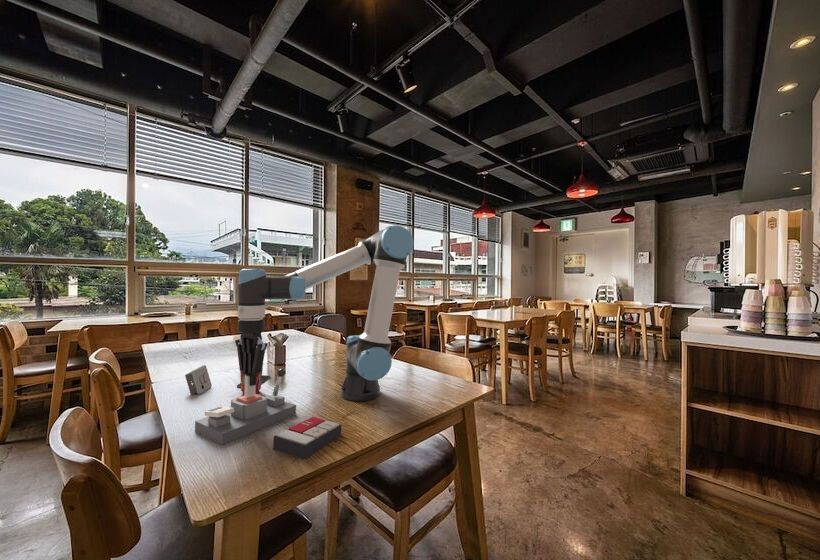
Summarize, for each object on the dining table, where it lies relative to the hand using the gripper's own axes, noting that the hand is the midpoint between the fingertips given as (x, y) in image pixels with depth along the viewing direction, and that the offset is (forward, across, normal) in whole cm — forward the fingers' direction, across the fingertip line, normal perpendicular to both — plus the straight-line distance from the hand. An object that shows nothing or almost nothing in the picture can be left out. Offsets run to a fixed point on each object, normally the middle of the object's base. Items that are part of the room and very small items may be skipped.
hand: (249, 395), depth 100 cm
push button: (+5, 0, 0) cm, 5 cm away
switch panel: (+8, 0, 0) cm, 8 cm away
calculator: (+9, +24, +2) cm, 26 cm away
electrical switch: (+8, -41, +6) cm, 42 cm away
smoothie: (+9, -23, +16) cm, 29 cm away
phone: (+9, -34, +24) cm, 42 cm away
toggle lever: (+3, 0, +9) cm, 9 cm away
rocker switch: (+3, 0, -9) cm, 9 cm away
